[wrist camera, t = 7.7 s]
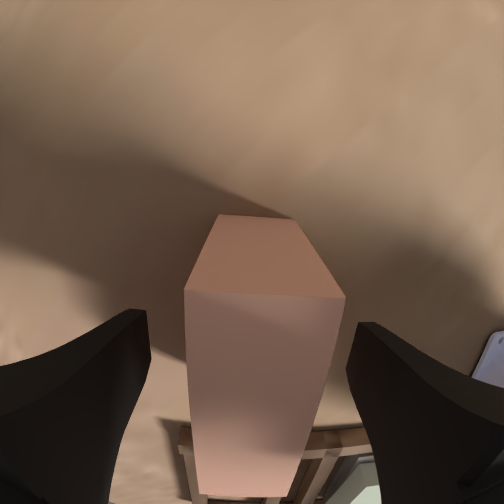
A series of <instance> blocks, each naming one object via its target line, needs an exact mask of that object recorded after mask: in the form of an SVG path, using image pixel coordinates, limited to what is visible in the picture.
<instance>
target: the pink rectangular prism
mask: <svg viewBox="0 0 504 504" xmlns="http://www.w3.org/2000/svg"><path fill="white" fill-rule="evenodd" d="M345 302H346V297H345V295H344V293H343V292H342V290H341V289H340V287H339V286H338V284H337V282H336V281H335V279H334V278H333V276H332V275H331V273H330V272H329V270H328V269H327V267H326V266H325V264H324V263H323V261H322V259H321V258H320V256H319V255H318V253H317V252H316V250H315V249H314V247H313V246H312V244H311V243H310V241H309V240H308V239H307V237H306V236H305V234H304V233H303V231H302V230H301V228H300V227H299V225H298V224H297V222H296V221H295V220H294V219H281V218H268V217H253V216H238V215H222V214H219V215H218V217H217V219H216V221H215V223H214V225H213V227H212V229H211V231H210V233H209V236H208V238H207V240H206V242H205V244H204V246H203V248H202V251H201V253H200V255H199V257H198V259H197V261H196V263H195V266H194V268H193V270H192V272H191V274H190V277H189V279H188V281H187V283H186V285H185V288H184V315H185V341H186V361H187V377H188V392H189V405H190V416H191V427H192V437H193V447H194V456H195V464H196V472H197V480H198V487H199V494H207V495H218V496H235V497H287V494H288V492H289V489H290V487H291V484H292V482H293V479H294V477H295V474H296V471H297V469H298V466H299V463H300V461H301V458H302V455H303V452H304V449H305V447H306V444H307V441H308V438H309V435H310V432H311V429H312V426H313V423H314V420H315V416H316V413H317V410H318V407H319V403H320V400H321V397H322V393H323V390H324V387H325V383H326V379H327V376H328V372H329V369H330V365H331V361H332V357H333V353H334V349H335V345H336V341H337V337H338V333H339V329H340V325H341V320H342V316H343V311H344V307H345Z"/></svg>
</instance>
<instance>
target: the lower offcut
mask: <svg viewBox="0 0 504 504" xmlns="http://www.w3.org/2000/svg"><path fill="white" fill-rule="evenodd" d="M374 462H375V460H374V456H373V452H369V453H363V454H355V455H347V456H345V458H344V460H343V462H342V464H341V465H340V467H339V469H338V471H337V473H336V475H335V476H334V478H333V480H332V482H331V483H330V485H329V487H328V489H327V490H326V492H325V494H324V495H323V502H324V504H325V503H326V502H327V501H328V500H329V499H330V498H331V497H332V496H333V495H334V493H335V492H336V491H337V490H338V489H339V488H340V487H341V486H342V484H343V483H344V482H345V481H346V480H347V479H348V477H349V476H350V475H351V474H352V473H353V471H354V470H355V469H356V468H357V466H358V465H359V464H363V463H374Z"/></svg>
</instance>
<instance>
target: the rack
mask: <svg viewBox="0 0 504 504" xmlns="http://www.w3.org/2000/svg"><path fill="white" fill-rule="evenodd" d="M178 450H179V454H183V455H184V461H185V467H186V473H187V478H188V483H189V489H190V494H191V499H192V504H324V502H323V499H322V500H315V499H316V498H317V496H318V494H319V492H320V491H321V489H322V487H323V485H324V484H325V482H326V480H327V478H328V476H329V474H330V472H331V471H332V469H333V467H334V465H335V463H336V461H337V459H338V457H339V456H347V455H355V454H363V453H369V452H373V451H372V448H371V445H370V441H369V438H368V436H367V433H366V430H365V428H364V427H362V428H353V429H342V430H330V431H313V432H310V435H309V438H308V441H307V444H306V447H305V449H304V452H303V455H302V458H301V459H312V460H311V462H310V465H309V467H308V470H307V472H306V474H305V477H304V479H303V481H302V483H301V486H300V488H299V490H298V492H297V495H296V497H295V499H294V501H293V502H280V499H281V497H263V498H262V501H261V503H248V502H225V501H212V500H208V497H207V494H199V487H198V480H197V472H196V464H195V456H194V447H193V437H192V428H191V427H183V426H181V431H180V436H179V441H178Z"/></svg>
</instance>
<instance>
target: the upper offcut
mask: <svg viewBox="0 0 504 504" xmlns="http://www.w3.org/2000/svg"><path fill="white" fill-rule="evenodd" d="M325 504H381V494H380V487H379V481H378V475H377V470H376V465H375V462H374V463H363V464H359V465H358V466H357V468H356V469H355V470H354V471H353V473H352V474H351V475H350V476H349V477H348V479H347V480H346V481H345V482H344V483H343V484H342V486H341V487H340V488H339V489H338V490H337V491H336V492H335V493H334V495H333V496H332V497H331V498H330V499H329V500H328V501H327V502H326V503H325Z"/></svg>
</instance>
